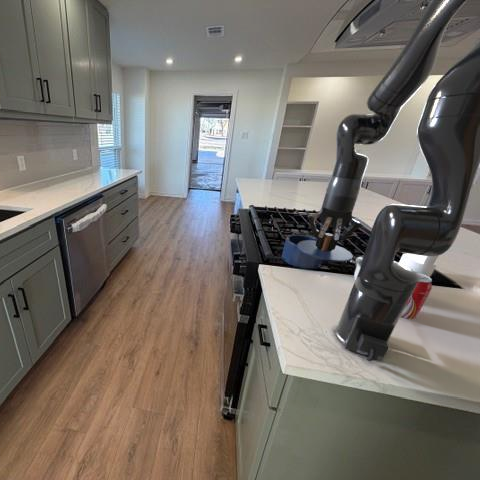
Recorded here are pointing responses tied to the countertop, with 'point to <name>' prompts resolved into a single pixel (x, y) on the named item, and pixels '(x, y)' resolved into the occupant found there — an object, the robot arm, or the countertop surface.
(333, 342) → the countertop surface
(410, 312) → the soda can
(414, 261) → the cylinder with rectangular tab
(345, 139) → the robot arm
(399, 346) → the countertop surface
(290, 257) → the pot
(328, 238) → the pot lid
